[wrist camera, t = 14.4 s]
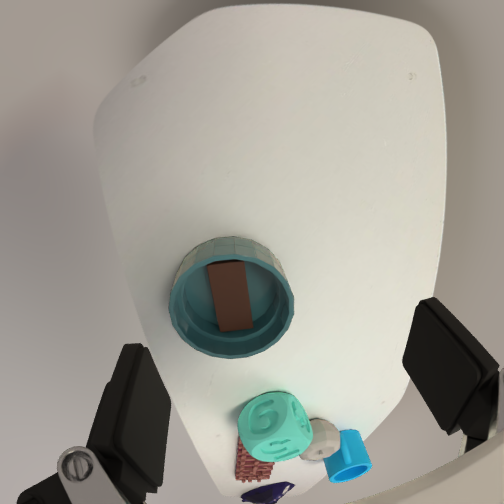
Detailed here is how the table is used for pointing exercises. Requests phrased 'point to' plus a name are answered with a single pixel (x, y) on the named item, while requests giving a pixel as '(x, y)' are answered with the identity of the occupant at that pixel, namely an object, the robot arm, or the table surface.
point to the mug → (348, 458)
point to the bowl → (202, 305)
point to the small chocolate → (230, 294)
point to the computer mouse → (267, 493)
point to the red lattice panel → (251, 466)
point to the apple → (322, 441)
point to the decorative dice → (274, 427)
